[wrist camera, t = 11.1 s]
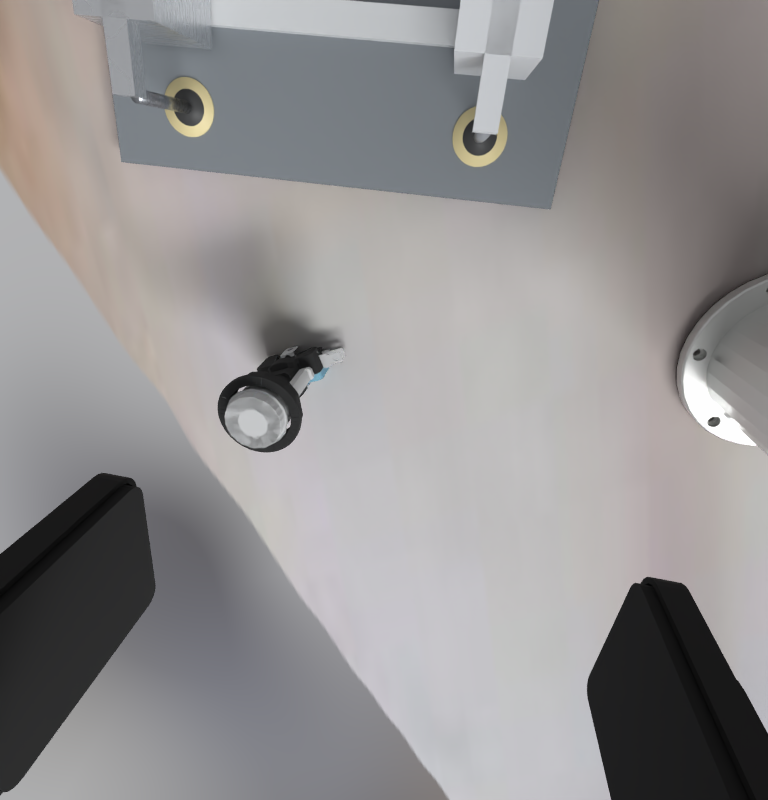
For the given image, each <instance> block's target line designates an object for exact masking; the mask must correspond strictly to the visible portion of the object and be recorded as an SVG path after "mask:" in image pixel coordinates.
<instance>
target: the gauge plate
mask: <svg viewBox="0 0 768 800" xmlns="http://www.w3.org/2000/svg"><path fill="white" fill-rule="evenodd" d="M598 2H599V0H210V12H211V31H212V50H211V49H200V48H189V47H178V46H167V45H156V44H146V43H144V42H141V49H142V59H143V68H144V77H145V87H146V90H147V91H151V92H155V93H159V94H162V95H166V96H170V97H174V98H178V99H182V100H186V101H188V102H190V104H191V106H192V111H191V112H190V113H189V114H186V113H181V112H176V111H171V110H166V109H161V108H156V107H151V106H147V105H142V104H137V103H135V102H133V101H132V99H131V97H124V96H119V95H115V94H113V101H114V109H115V116H116V124H117V132H118V139H119V147H120V154H121V162H126V163H135V164H144V165H153V166H162V167H171V168H180V169H189V170H198V171H207V172H216V173H225V174H235V175H244V176H253V177H262V178H271V179H280V180H289V181H298V182H307V183H316V184H325V185H334V186H343V187H352V188H361V189H370V190H379V191H388V192H397V193H407V194H416V195H425V196H434V197H443V198H452V199H461V200H470V201H479V202H488V203H497V204H506V205H515V206H524V207H533V208H542V209H551V205H552V201H553V196H554V192H555V188H556V183H557V179H558V175H559V170H560V166H561V162H562V157H563V153H564V149H565V145H566V140H567V136H568V132H569V127H570V123H571V119H572V114H573V110H574V106H575V101H576V97H577V93H578V88H579V84H580V80H581V75H582V71H583V67H584V63H585V58H586V54H587V50H588V45H589V41H590V37H591V32H592V28H593V24H594V19H595V15H596V11H597V6H598Z"/></svg>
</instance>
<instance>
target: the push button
mask: <svg viewBox="0 0 768 800" xmlns="http://www.w3.org/2000/svg"><path fill="white" fill-rule="evenodd" d="M297 348H298V346H295V347H291V348H288V349H286V350H285V351H284V352H283V353H282V355H280V357H281V359H279V357H278V355H275V356H271V357H269V358H267V359H266V360H265V361H264V362H263V363H262V364H261V365H260V366H259V367H258V368H257V371H258V372H251V373H249V374H248V375H244V376H241V377H238V378H236V379H234V380H233V381H231V382H230V383H229V384H228V385H227V386H226V387H225V388H224V389H223V391H222V393H221V395H220V397H219V401H218V415H219V418H220V421H221V424H222V426H223V427H224V429H225V431H226V432H227V433H228V434H229V435H230V437H231V438H233V439H234V440H235V441H236V442H237V443H239V444H240V445H242V446H244V447H246V448H248V449H251V450H254V451H258V452H275V451H279V450H281V449H283V448H285V447H287V446H288V445H290V444H291V443H292V442H293V441H294V439H295V438H296V436H297V434H298V433H299V430H300V428H301V422H302V416H303V413H302V408H301V403H300V399H299V398H300V397H301V396H302V395H303V394H304V392H305V391H306V389H307V388H308V386H309V385H310V383H311V382H313V381H314V382H315V381H318V380H321V379H323V377H324V375H325V374H326V372H327V370H328V369H329V367H331V365H332V364H336V363H339V362H343V358H344V357H345V356H346V355H345V352H344V350H343V348H339V349H335V350H332V351H329V349H328V350H325V351H323V349H322V347H319V348H317V347H314V348H310V349H308V350H306V351H305V352H302V353H298V354H295V355H294V351H295V350H296V349H297ZM291 349H292V350H291ZM289 350H290V351H289ZM337 359H338V360H337ZM245 386H246V388H245V389H244V390H243V391H240V392H238V390H239V388H242V387H245ZM237 392H238V393H237ZM290 419H291V425H290V427H289V428H288V429H287V424H288V422H289V421H290ZM286 429H287V430H286Z"/></svg>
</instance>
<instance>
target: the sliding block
mask: <svg viewBox="0 0 768 800" xmlns="http://www.w3.org/2000/svg"><path fill="white" fill-rule="evenodd" d="M72 2H73V9H74V14H75V15H77V16H80V17H82V18H85V19H87V20H90V21H92V22H95V23H97V24H100V25H102V26H104V34H105V41H106V49H107V56H108V64H109V71H110V79H111V86H112V94H115V95H119V96H124V97H131V99H132V101H133V102H135V103H137V104H142V105H147V106H151V107H156V108H161V109H166V110H171V111H176V112H181V113H186V114H189V113H190V112H191V111H192V106H191V104H190V102H188V101H186V100H182V99H178V98H174V97H170V96H166V95H162V94H159V93H155V92H151V91H147V90H146V87H145V77H144V68H143V59H142V49H141V42H144V43H146V44H156V45H167V46H178V47H189V48H200V49H211V50H212V31H211V12H210V0H72Z"/></svg>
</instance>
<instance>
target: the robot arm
mask: <svg viewBox="0 0 768 800" xmlns="http://www.w3.org/2000/svg"><path fill="white" fill-rule="evenodd" d="M767 288H768V274H767V275H765V276H762V277H760V278H757V279H754V280H752V281H749V282H747V283H746V284H744V285H742V286H740V287H739V288H737V289H735V290H733V291H732V292H730V293H728V294H727V295H726V296H725V297H723V298H722V299H721V300H720V301H718V302H717V303H716V304H714V305H713V306H712V307H711V308H710V309H709V310H708V311H707V312H706V313H705V314H704V316H703V317H702V318H701V319H700V320H699V321H698V322H697V324H696V325H695V327H694V328H693V330H692V331H691V333H690V334H689V335H688V337H687V339H686V342H685V344H684V346H683V348H682V351H681V353H680V357H679V362H678V366H677V387H678V391H679V396H680V399H681V401H682V403H683V405H684V407H685V408H686V410H687V412H688V413H689V414H690V415H691V416H692V417H693V418H694V420H695V421H696V422H697V423H698V424H699V425H700V426H701V427H703V428H704V429H705V430H706V431H708V432H710V433H711V434H713V435H715V436H717V437H718V438H720V439H723V440H726V441H730V442H733V443H736V444H743V445H750V446H758V447H759V448H760V449H761V450H762V451H764V452H765V453H766V454H767V455H768V289H767ZM696 350H697V351H696ZM695 351H696V352H695ZM694 352H695V353H694ZM154 592H155V579H154V571H153V564H152V557H151V550H150V542H149V536H148V529H147V521H146V514H145V507H144V499H143V493H142V490H141V489H140V488H139V487H136V483H135V481H134V480H133V479H131V478H128V477H122V476H117V475H112V474H107V473H101V474H98V475H96V476H95V477H93V478H92V479H91V480H90V481H89V482H87V483H86V484H85V485H84V486H82V487H81V488H80V489H79V490H78V491H76V492H75V493H74V494H73V495H72V496H70V497H69V498H68V499H67V500H66V501H64V502H63V503H62V504H61V505H59V506H58V507H57V508H56V509H55V510H53V511H52V512H51V513H50V514H48V516H46V517H45V518H44V519H43V520H41V521H40V522H39V523H38V524H36V525H35V526H34V527H33V528H31V529H30V530H29V531H28V532H27V533H25V534H24V535H23V536H22V537H21V538H19V539H18V540H17V541H16V542H15V543H13V544H12V545H11V546H10V547H9V548H7V549H6V550H5V551H4V552H2V553H1V554H0V795H1V794H2V793H3V792H8V791H10V790H11V789H13V788H14V787H15V786H16V785H17V784H18V783H19V782H20V781H21V779H22V778H23V777H24V776H25V774H26V773H27V771H28V770H29V769H30V767H31V766H32V764H33V763H34V762H35V760H36V759H37V757H38V756H39V755H40V753H41V752H42V751H43V749H44V748H45V747H46V745H47V744H48V743H49V741H50V740H51V738H52V737H53V736H54V734H55V733H56V731H57V730H58V729H59V728H60V726H61V725H62V723H63V722H64V721H65V719H66V718H67V717H68V715H69V714H70V712H71V711H72V710H73V708H74V707H75V706H76V704H77V703H78V702H79V700H80V699H81V697H82V696H83V695H84V693H85V692H86V691H87V689H88V688H89V686H90V685H91V684H92V682H93V681H94V680H95V678H96V677H97V675H98V674H99V673H100V671H101V670H102V669H103V667H104V666H105V665H106V663H107V662H108V660H109V659H110V658H111V656H112V655H113V653H114V652H115V651H116V649H117V648H118V647H119V645H120V644H121V643H122V641H123V640H124V639H125V637H126V636H127V634H128V633H129V632H130V630H131V629H132V628H133V626H134V625H135V623H136V622H137V621H138V619H139V618H140V617H141V615H142V614H143V613H144V611H145V610H146V608H147V607H148V606H149V604H150V602H151V600H152V598H153V596H154ZM587 696H588V701H589V706H590V710H591V714H592V719H593V723H594V727H595V731H596V736H597V740H598V744H599V749H600V753H601V757H602V762H603V766H604V770H605V775H606V779H607V783H608V788H609V792H610V796H611V800H768V733H767V731H766V730H765V728H764V726H763V724H762V722H761V720H760V718H759V717H758V715H757V713H756V711H755V709H754V707H753V705H752V703H751V702H750V700H749V698H748V696H747V694H746V692H745V691H744V689H743V688H742V686H741V685H740V683H739V682H738V681H737V680H736V678H735V676H734V674H733V673H732V671H731V669H730V667H729V665H728V663H727V661H726V659H725V658H724V656H723V654H722V652H721V650H720V648H719V646H718V644H717V643H716V641H715V639H714V637H713V635H712V633H711V631H710V629H709V627H708V626H707V624H706V622H705V620H704V618H703V616H702V614H701V612H700V611H699V609H698V607H697V605H696V603H695V601H694V599H693V597H692V595H691V594H690V592H689V590H688V589H687V587H686V586H685V585H683V584H682V583H678V582H673V581H667V580H662V579H657V578H652V577H646V578H645V579H643V581H642V582H641V584H638V583H634V584H633V585H632V586H631V588H630V590H629V592H628V594H627V596H626V598H625V600H624V603H623V605H622V607H621V609H620V611H619V613H618V615H617V618H616V620H615V622H614V624H613V626H612V628H611V630H610V633H609V635H608V637H607V639H606V641H605V643H604V645H603V648H602V650H601V652H600V654H599V656H598V658H597V660H596V663H595V665H594V667H593V669H592V671H591V673H590V675H589V678H588V683H587Z"/></svg>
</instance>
